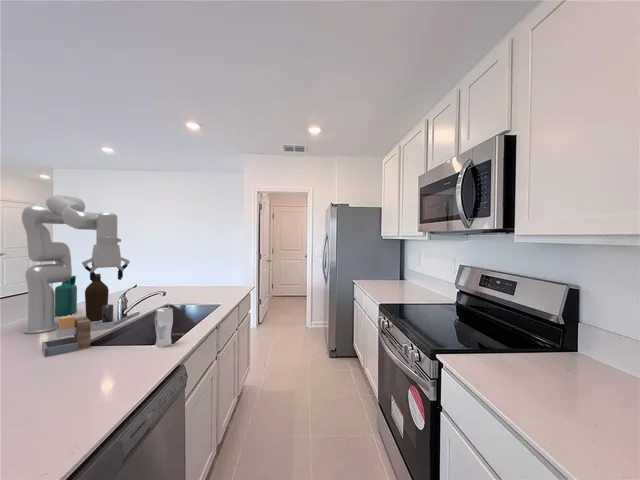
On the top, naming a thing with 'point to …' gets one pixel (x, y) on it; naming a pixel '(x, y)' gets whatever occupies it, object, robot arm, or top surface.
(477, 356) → the top surface
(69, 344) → the tray
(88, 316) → the olive oil
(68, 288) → the teal green bottle
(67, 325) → the spacer block
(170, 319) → the beer glass
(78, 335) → the brown wooden block
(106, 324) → the grey piece
